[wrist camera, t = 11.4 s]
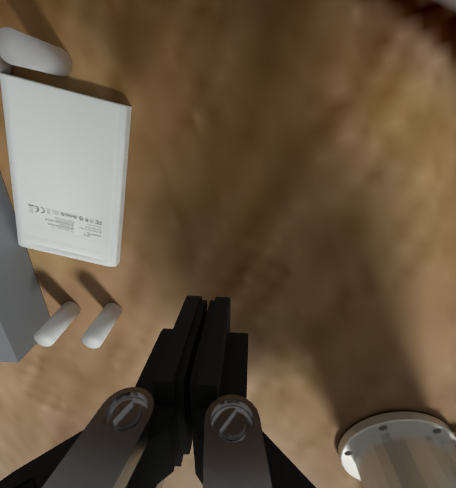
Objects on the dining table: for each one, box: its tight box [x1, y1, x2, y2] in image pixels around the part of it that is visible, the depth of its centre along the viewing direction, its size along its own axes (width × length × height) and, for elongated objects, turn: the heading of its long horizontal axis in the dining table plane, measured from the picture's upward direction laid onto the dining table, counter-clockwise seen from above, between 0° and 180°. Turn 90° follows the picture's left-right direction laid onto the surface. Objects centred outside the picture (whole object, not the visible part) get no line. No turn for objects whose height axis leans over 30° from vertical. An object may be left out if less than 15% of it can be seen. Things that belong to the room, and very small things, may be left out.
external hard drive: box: [0, 73, 132, 267], centre depth 20 cm, size 2×8×12 cm
